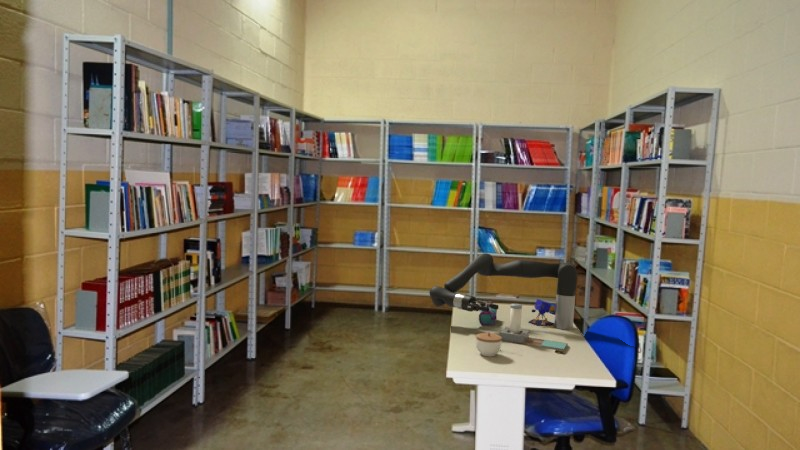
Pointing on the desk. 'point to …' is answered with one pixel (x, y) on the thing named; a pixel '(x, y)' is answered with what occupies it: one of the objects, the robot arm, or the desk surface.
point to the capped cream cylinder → (515, 318)
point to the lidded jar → (488, 343)
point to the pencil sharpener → (542, 309)
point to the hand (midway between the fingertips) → (493, 308)
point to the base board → (538, 344)
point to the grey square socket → (514, 336)
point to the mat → (554, 344)
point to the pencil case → (488, 317)
